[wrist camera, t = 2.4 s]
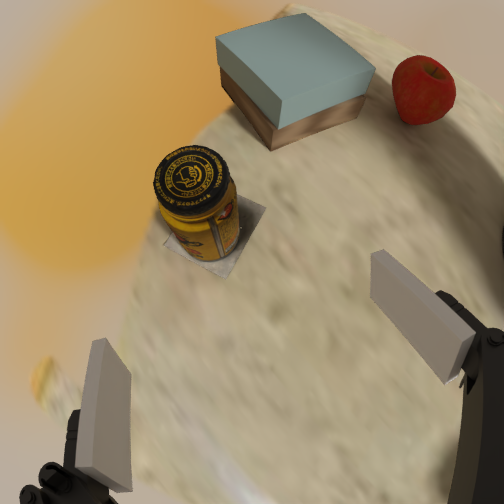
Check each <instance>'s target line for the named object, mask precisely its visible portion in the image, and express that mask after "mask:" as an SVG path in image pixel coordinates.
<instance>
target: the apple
mask: <svg viewBox="0 0 504 504" xmlns="http://www.w3.org/2000/svg"><path fill="white" fill-rule="evenodd" d="M392 90H393V96H394V100H395V104H396V108H397V110H398V113H399V115H400V117H401V119H402V120H403V121H404V122H406V123H408V124H410V125H420V124H428V123H431V122H433V121H436V120H438V119H440V118H442V117H443V116H444V115H445V114H446V113H447V112H448V111H449V110H450V109H451V108H452V107H453V105H454V101H455V97H456V87H455V83H454V79H453V77H452V76H451V74H450V73H449V71H448V70H447V69H446V68H445V67H444V66H442V65H441V64H440V63H439V62H437V61H435V60H434V59H432V58H430V57H427V56H423V55H416V56H413V57H410V58H407V59H406V60H404V61H403V62H401V63H400V64H399V65H398V66H397V68H396V69H395V71H394V74H393V79H392Z"/></svg>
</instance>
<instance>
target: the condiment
mask: <svg viewBox="0 0 504 504" xmlns="http://www.w3.org/2000/svg"><path fill="white" fill-rule="evenodd" d="M153 186H154V190H155V193H156V196H157V199H158V202H159V209H160V212H161V214H162V216H163V218H164V220H165V221H166V223H167V224H168V226H169V227H170V228H171V230H172V231H173V232H172V233H171V235H170V237H169V238H168V240H167V241H166V243H165V244H164V246H165V247H167V248H169V249H171V250H173V251H174V252H176V253H178V254H180V255H181V256H183V257H185V258H187V259H189V260H190V261H192V262H194V263H196V264H198V265H200V266H201V267H203V268H205V269H207V270H209V271H211V272H213V273H215V274H216V275H218V276H220V277H222V278H224V279H227V277H228V275H229V273H230V272H231V270H232V268H233V266H234V265H235V263H236V261H237V259H238V258H239V256H240V254H241V252H242V250H243V249H244V247H245V245H246V243H247V242H248V240H249V238H250V236H251V234H252V232H253V231H254V229H255V227H256V225H257V224H258V222H259V220H260V218H261V216H262V214H263V213H264V211H265V209H266V207H264V206H262V205H259V204H257V203H255V202H253V201H250V200H248V199H246V198H244V197H242V196H240V195H238V194H237V192H236V186H235V183H234V181H233V179H232V177H231V176H230V173H229V169H228V166H227V164H226V162H225V160H223V158H222V157H221V156H220V155H219V154H218V153H217V152H215V151H214V150H212V149H209V148H207V147H204V146H198V145H192V146H185V147H181V148H179V149H177V150H175V151H173V152H172V153H170V154H168V155H167V156H166V157H165V158H164V159H163V160H162V162H161V163H160V164H159V166H158V167H157V169H156V171H155V178H154V182H153ZM240 227H242V228H240Z"/></svg>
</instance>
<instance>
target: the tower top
mask: <svg viewBox="0 0 504 504" xmlns="http://www.w3.org/2000/svg"><path fill="white" fill-rule="evenodd" d="M215 38H216V49H217V60H218V65H219V66H220V67H221V68H222V69H223V70H224V71H225V72H226V73H227V74H228V75H229V76H230V77H231V78H232V79H233V80H234V81H235V82H236V83H237V84H238V85H239V86H240V88H241V89H242V90H243V91H244V92H245V93H246V94H247V95H248V96H249V97H250V98H251V99H252V101H253V102H254V103H255V104H256V105H257V106H258V107H259V108H260V109H261V110H262V112H263V113H264V114H265V115H266V116H267V117H268V118H269V120H270V121H271V122H272V123H273V124H274V125H275V126H276V128H277V129H278V130H279V129H281V128H283V127H285V126H287V125H290V124H292V123H294V122H296V121H299V120H301V119H303V118H305V117H308V116H310V115H312V114H315V113H317V112H320V111H322V110H324V109H327V108H329V107H332V106H334V105H337V104H339V103H342V102H344V101H347V100H349V99H352V98H355V97H357V96H360V95H362V94H365V93H366V90H367V88H368V86H369V83H370V81H371V79H372V76H373V74H374V72H375V69H376V68H375V67H374V66H373V65H372V64H371V63H370V62H368V61H367V60H366V59H365V58H364V57H363V56H361V55H360V54H359V53H358V52H357V51H355V50H354V49H353V48H352V47H350V46H349V45H348V44H347V43H345V42H344V41H343V40H342V39H340V38H339V37H338V36H336V35H335V34H334V33H332V32H331V31H330V30H328V29H327V28H326V27H324V26H323V25H322V24H320V23H319V22H317V21H316V20H314V19H313V18H312V17H310V16H309V15H307V14H306V13H302V14H297V15H292V16H287V17H283V18H279V19H275V20H270V21H267V22H263V23H259V24H255V25H252V26H248V27H245V28H241V29H238V30H235V31H232V32H228V33H226V34H222V35H219V36H216V37H215Z"/></svg>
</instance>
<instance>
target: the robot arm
mask: <svg viewBox="0 0 504 504" xmlns="http://www.w3.org/2000/svg"><path fill="white" fill-rule="evenodd" d="M503 253H504V228H503ZM370 298H371V299H372V300H373V301H374V302H375V303H376V304H377V305H378V307H379V308H380V309H381V310H382V311H383V312H384V313H385V315H386V316H387V317H388V318H389V319H390V320H391V321H392V323H393V324H394V325H395V326H396V327H397V328H398V330H399V331H400V332H401V333H402V334H403V335H404V337H405V338H406V339H407V340H408V341H409V342H410V344H411V345H412V346H413V347H414V348H415V350H416V351H417V352H418V353H419V354H420V356H421V357H422V358H423V359H424V360H425V362H426V363H427V364H428V365H429V366H430V368H431V369H432V370H433V371H434V373H435V374H436V375H437V376H438V378H439V379H440V380H441V381H442V383H443V384H444V385H446V384H447V383H449V382H450V381H452V380H453V379H455V378H456V377H458V375H459V372H460V370H461V368H462V369H463V370H464V371H465V375H464V377H463V379H462V381H461V383H460V386H459V388H461V387H462V385H463V383H464V390H463V407H462V419H461V429H460V438H459V445H458V452H457V459H456V465H455V470H454V476H453V481H452V485H451V490H450V494H449V499H448V503H447V504H504V332H503V331H502V330H500V329H497V328H487V327H485V326H484V325H483V324H482V323H481V322H480V321H479V320H478V319H477V318H476V317H475V316H474V315H473V314H471V313H470V312H469V311H468V310H467V309H466V308H464V306H463V305H462V304H461V303H458V301H457V300H456V299H455V298H454V297H453V296H452V295H450V294H448V293H446V292H444V291H441V290H440V291H438V292H436V293H434V292H433V291H431V290H430V289H429V288H428V287H427V286H426V285H425V284H424V283H422V282H421V281H420V280H419V279H418V278H417V277H416V276H415V275H413V274H412V273H411V272H410V271H409V270H408V269H406V268H405V267H404V266H403V265H402V264H401V263H399V262H398V261H397V260H396V259H395V258H393V257H392V256H391V255H390V254H389V253H388V252H386V251H385V250H384V249H383V250H380V251H377V252H374V253H372V254H371V287H370ZM130 403H131V373H130V372H129V370H128V369H127V367H126V366H125V365H124V363H123V362H122V360H121V359H120V358H119V356H118V355H117V353H116V352H115V350H114V349H113V348H112V346H111V345H110V343H109V342H108V340H107V339H106V338H103V339H99V340H95V341H93V342H92V346H91V351H90V356H89V362H88V367H87V372H86V378H85V384H84V390H83V396H82V403H81V409H79V410H73V412H72V414H71V416H70V418H69V420H68V427H67V432H68V433H67V435H66V440H67V441H66V443H65V452H64V463H63V467H62V466H61V465H59V464H58V463H55V462H48V463H47V464H45V465H44V466H43V467H42V468H41V470H40V472H39V483H40V486H41V487H43V488H41V489H39V488H37V487H35V486H34V485H26V486H25V487H23V489H22V490H21V492H20V497H19V498H20V504H118V503H117V502H116V501H115V500H114V498H113V497H111V496H110V495H109V489H111V490H113V491H115V492H117V493H120V492H132V491H133V490H132V473H131V445H130Z"/></svg>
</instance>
